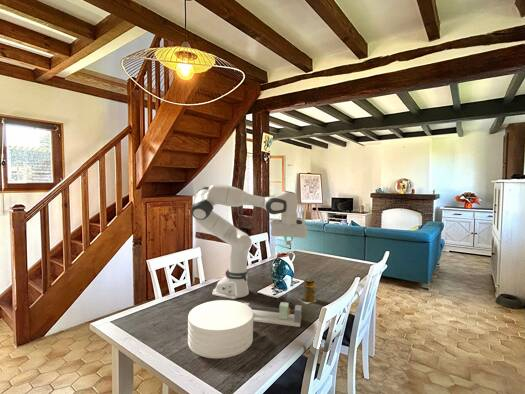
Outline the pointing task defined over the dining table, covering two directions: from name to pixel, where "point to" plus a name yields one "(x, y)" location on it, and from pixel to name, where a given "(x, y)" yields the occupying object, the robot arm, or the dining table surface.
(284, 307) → the pale green block
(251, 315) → the plate stack
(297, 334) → the dining table surface
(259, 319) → the white slider rail
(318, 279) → the dining table surface
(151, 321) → the dining table surface
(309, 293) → the condiment
